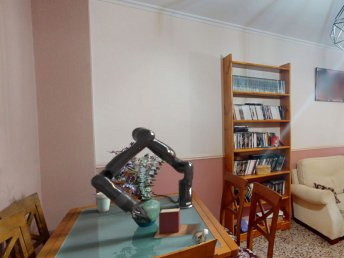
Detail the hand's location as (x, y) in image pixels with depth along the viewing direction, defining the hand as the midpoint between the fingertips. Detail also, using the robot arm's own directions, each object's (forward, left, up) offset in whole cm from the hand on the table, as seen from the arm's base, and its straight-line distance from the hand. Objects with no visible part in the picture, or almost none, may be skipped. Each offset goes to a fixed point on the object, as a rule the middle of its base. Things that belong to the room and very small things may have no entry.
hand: (150, 222), depth 139 cm
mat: (+4, +13, -7) cm, 15 cm away
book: (+3, +9, -6) cm, 12 cm away
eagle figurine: (+23, +20, -7) cm, 32 cm away
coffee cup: (-56, -22, -7) cm, 60 cm away
